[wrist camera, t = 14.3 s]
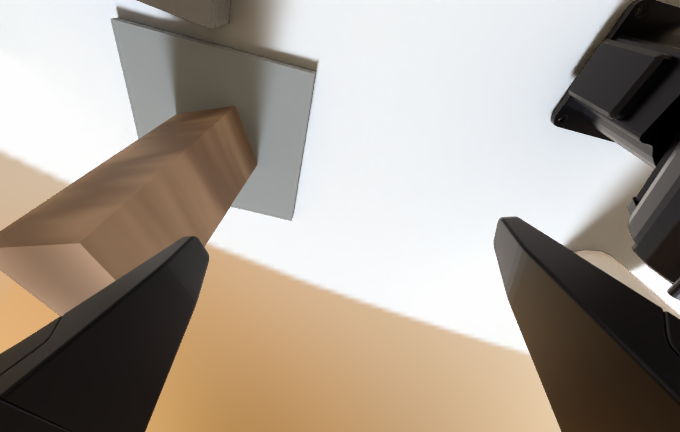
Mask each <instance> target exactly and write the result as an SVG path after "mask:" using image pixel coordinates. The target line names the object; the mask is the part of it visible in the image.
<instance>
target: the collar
mask: <svg viewBox="0 0 680 432" xmlns="http://www.w3.org/2000/svg"><path fill="white" fill-rule="evenodd" d="M137 1H140V2H142V3H145V4H147V5H150V6H152V7H155V8H158V9H160V10H163V11H165V12H168V13H170V14H173V15H175V16H178V17H180V18H183V19H186V20H188V21H191V22H193V23H196V24H198V25H201V26H203V27H206V28H208V29H212V28H215V27H219V26H222V25H225V24H229V18H230V5H231V0H137Z"/></svg>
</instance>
